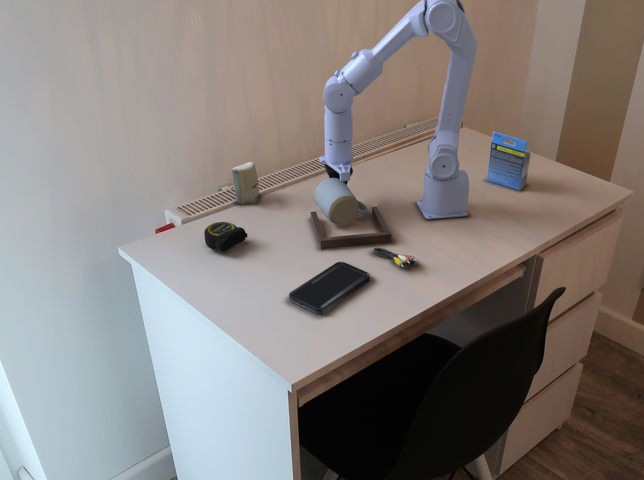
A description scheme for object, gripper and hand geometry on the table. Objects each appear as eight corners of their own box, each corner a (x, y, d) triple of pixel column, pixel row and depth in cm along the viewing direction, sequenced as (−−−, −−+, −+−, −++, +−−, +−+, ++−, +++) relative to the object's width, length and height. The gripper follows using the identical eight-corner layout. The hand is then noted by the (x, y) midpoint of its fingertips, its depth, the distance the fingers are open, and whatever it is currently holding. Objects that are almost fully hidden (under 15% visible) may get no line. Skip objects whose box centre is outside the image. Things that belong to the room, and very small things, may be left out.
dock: (376, 214, 155) (377, 206, 154) (391, 242, 146) (391, 234, 145) (310, 220, 152) (310, 211, 150) (320, 249, 143) (320, 240, 141)
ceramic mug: (329, 230, 148) (329, 197, 144) (313, 212, 154) (313, 179, 149) (374, 221, 153) (377, 189, 148) (358, 204, 158) (359, 172, 154)
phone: (372, 274, 134) (319, 310, 124) (372, 279, 135) (320, 316, 125) (339, 260, 137) (285, 294, 127) (339, 265, 138) (286, 299, 128)
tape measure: (223, 258, 138) (221, 241, 136) (198, 247, 141) (195, 230, 139) (248, 244, 143) (247, 227, 141) (223, 233, 146) (221, 216, 143)
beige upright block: (239, 192, 160) (236, 159, 155) (262, 194, 160) (260, 160, 155) (233, 204, 155) (229, 170, 150) (257, 206, 155) (254, 171, 150)
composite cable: (370, 253, 142) (370, 242, 141) (388, 245, 145) (388, 235, 143) (403, 275, 137) (403, 263, 135) (421, 266, 139) (422, 255, 138)
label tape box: (526, 185, 170) (534, 135, 163) (519, 191, 167) (527, 141, 160) (493, 175, 174) (500, 126, 166) (485, 181, 171) (492, 131, 163)
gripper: (313, 124, 153) (314, 183, 161) (325, 152, 142) (326, 214, 150) (346, 123, 154) (345, 181, 163) (360, 150, 143) (359, 211, 152)
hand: (338, 197), depth 156 cm, fingers closed
